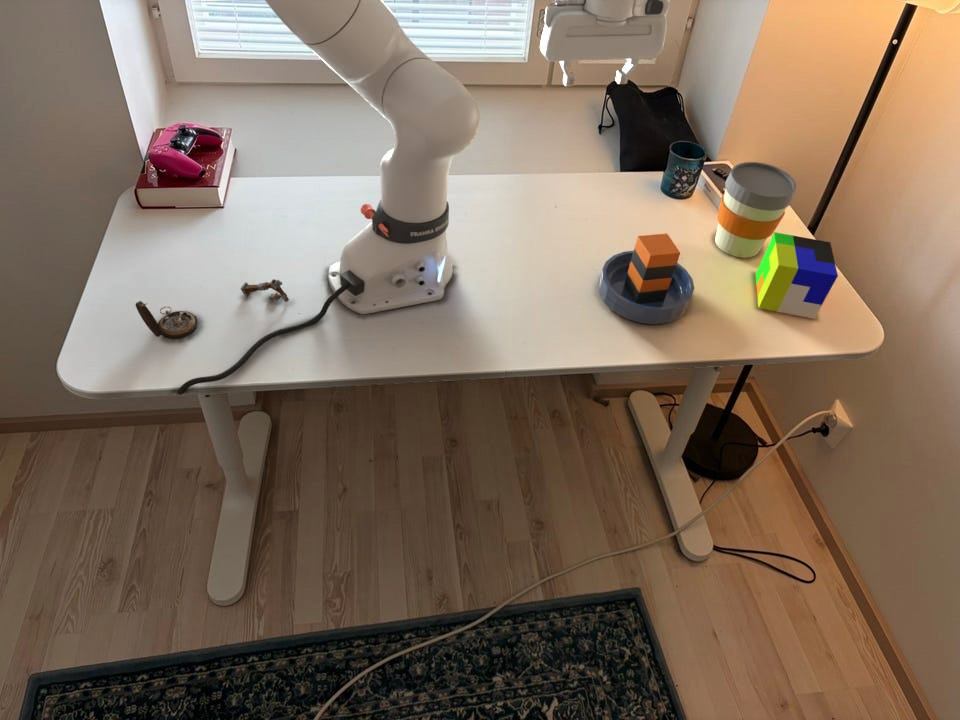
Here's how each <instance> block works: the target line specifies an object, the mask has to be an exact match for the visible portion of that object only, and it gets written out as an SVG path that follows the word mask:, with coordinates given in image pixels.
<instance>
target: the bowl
mask: <svg viewBox="0 0 960 720" xmlns="http://www.w3.org/2000/svg"><path fill="white" fill-rule="evenodd" d="M633 251H634V250H627V251H622V252H619V253H616V254H614V255H612V256H611V257H610V258H609V259H607V260H606V261H605V262H604V264H603V267H602V269H601V273H600V276H599V280H598V293H599V295H600V298H601V299H602V301H603V303H604V304H605V305H606V306H607V307H608V308H609V309H610V310H611V311H612V312H614V313H616V314H618V315H619V316H621V317H623V318H624V319H627V320H631V321H633V322H636V323H637V322H638V323H641V324H648V325H649V324H650V325H659V324H667V323H670V322H673V321H676V320H677V319H680V318H681V317H682V316H683V315H684V314H685V313H686V312H687V311H688V308H689V305H690V302H691V300H692V297H693V293H694V292H695V285H694V280H693V278H692V276H691V275H690V273H689V272H688V270H687V268H685V267H684V266H682V265H681V264H680V263H679V262H677V265H676V268H675V271H674V273H673V276H672V279H671V282H670V285H669V288H668V291H667V294H666V297H665V300H664V301H661V302H652V303H644V304H637V303H635V302H634V300H633V299H632V297H631V295H630V294H629V292H628V290H627V288H626V287H625V285H624V283H625V280H626V276H627V273H628V269H629V266H630V262H631V259H632V255H633Z"/></svg>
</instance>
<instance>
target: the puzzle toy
mask: <svg viewBox="0 0 960 720" xmlns="http://www.w3.org/2000/svg"><path fill="white" fill-rule="evenodd" d="M771 236H772V237H771V239H770V241H769V244H768V245H767V248H766V250H765V252H764V255H763V257H762V259H761V261H760V263H759V265H758V268H757V270H756V273H755V275H754V276H755V284H756V285H755V286H756V297H757V298H756V299H757V305H758V306H757V307H758V309H759V310H760V309H761V310H766V311H771V312H775V313H781V314H786V315H791V316H797V317H803V318H806V319H807V318H808V319H813V320H814V319H816V317H817V314H818V313H819V312H820V309H821V308H822V306H823V303H824V302H825V300H826V299H827V297H828V295H829V293H830V291H831V289H832V287H833V286H834V284H835V282H836V280H837V278H838V276H839V275H838V271H837V270H838V269H837V266H836V262H835V257H834V253H833V247H832V243H831V241H827V240H826V241H825V240H820V239H815V238H808V237H803V236H798V235H791V234H787V233H781V232H776V231H774V232H773V234H772V235H771Z"/></svg>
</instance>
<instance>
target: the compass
mask: <svg viewBox="0 0 960 720" xmlns="http://www.w3.org/2000/svg"><path fill="white" fill-rule="evenodd" d="M146 305H148V302H146V303H144V302H143V301H141V300H139V301H138V302H136V303H135V308H136V310H137V312H138V315H139V316H140V318H141V319H142V321H143V323H144V324H145V325H146V327H147V328H148V329H149V331H150V332H151V333H152V334H153V335H154V336H155V337H157V338H159V337H163V338H165V339H169V340H180V339H184V338H187V337H189V336H190V335H192V334H194V333H195V331H196V330H197V328H198V326H199V321H198V317H197V315H195V314H194V313H192V312H190V311H187V310H186V311H185V310H176V311H172V309H173V308H172V307H170V306H167V308H169V309H170V311H169V310H166V311H165V313H164V312H162V310H163V309H166V306H163V307H161V308H160V309H159V313H160V314H161V315H163V316H162V317H161V318H160V319H159V320H158V321H157V319H156V318H155V317H154V315H153V314H152V312H151V311H150V309H149V308H148V307H147V306H146Z"/></svg>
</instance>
